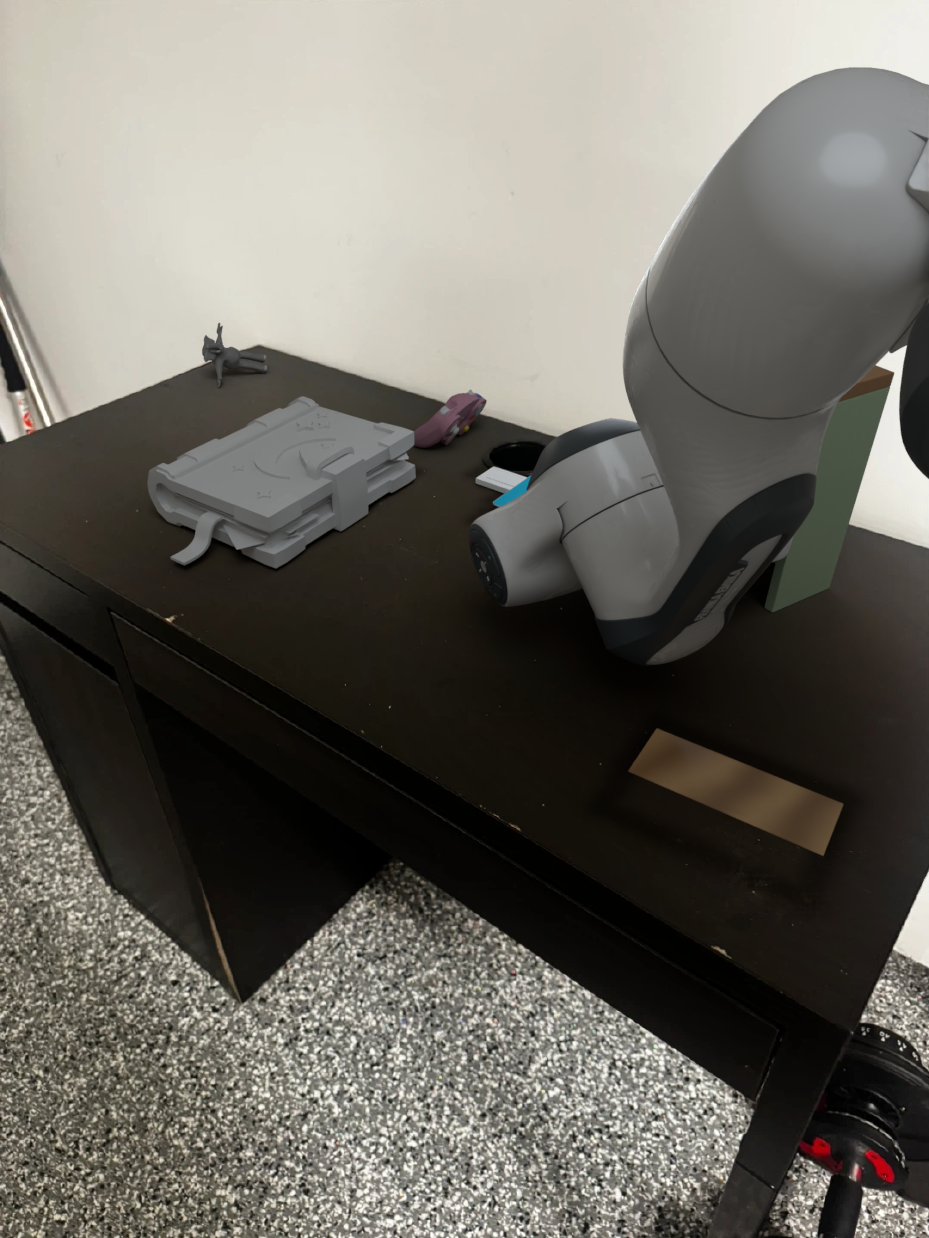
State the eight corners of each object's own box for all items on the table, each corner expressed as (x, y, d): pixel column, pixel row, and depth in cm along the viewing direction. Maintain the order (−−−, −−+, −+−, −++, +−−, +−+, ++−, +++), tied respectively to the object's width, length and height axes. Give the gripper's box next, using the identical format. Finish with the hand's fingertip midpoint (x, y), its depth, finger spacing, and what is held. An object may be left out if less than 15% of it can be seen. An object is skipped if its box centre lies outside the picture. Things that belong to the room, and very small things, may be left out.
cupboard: (772, 613, 81) (830, 391, 68) (642, 526, 93) (671, 324, 80) (829, 588, 84) (895, 372, 71) (697, 507, 96) (732, 310, 84)
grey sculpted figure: (272, 387, 123) (206, 373, 119) (259, 406, 128) (195, 394, 124) (271, 323, 126) (207, 308, 121) (258, 344, 131) (196, 330, 126)
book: (111, 539, 91) (93, 472, 86) (299, 440, 109) (292, 381, 105) (246, 601, 82) (234, 530, 78) (425, 482, 101) (423, 419, 96)
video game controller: (434, 466, 107) (456, 423, 102) (406, 442, 108) (426, 399, 103) (476, 436, 114) (498, 394, 109) (449, 414, 114) (470, 372, 109)
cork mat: (841, 809, 62) (843, 803, 62) (801, 912, 55) (803, 906, 55) (655, 733, 68) (656, 727, 68) (598, 818, 62) (599, 812, 61)
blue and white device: (531, 446, 108) (532, 434, 107) (618, 473, 102) (620, 460, 101) (431, 513, 95) (430, 499, 94) (524, 548, 90) (525, 534, 89)
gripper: (728, 537, 68) (849, 493, 74) (570, 439, 82) (681, 408, 88) (714, 604, 72) (830, 556, 78) (565, 499, 86) (672, 465, 92)
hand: (750, 477), depth 83 cm, fingers closed on syrup box, 6 cm apart
